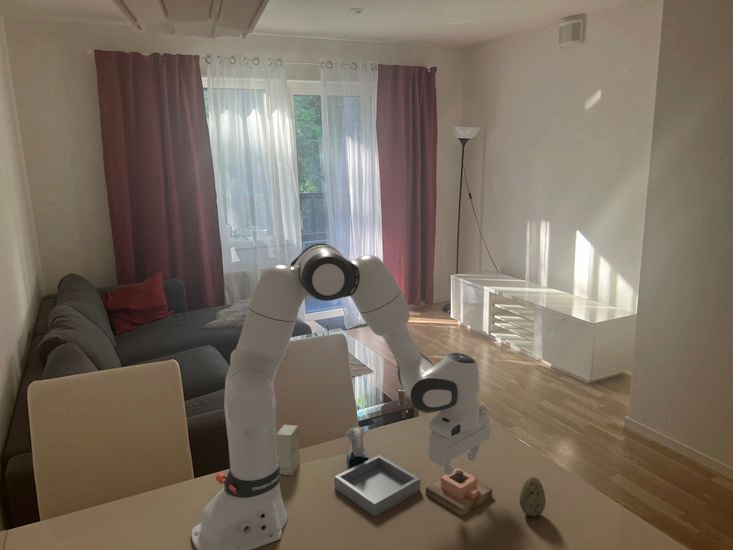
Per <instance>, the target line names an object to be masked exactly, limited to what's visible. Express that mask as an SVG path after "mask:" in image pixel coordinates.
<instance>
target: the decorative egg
mask: <svg viewBox="0 0 733 550" xmlns="http://www.w3.org/2000/svg"><path fill="white" fill-rule="evenodd" d="M543 487H544V486H543V485H542V483H541V481H540V480H539V479H538V478H537V477H536V476H531V477H529V478H527V480H525V482H524V484H523V485H522V488H521V491H520V494H519V506H520V508H521V510H522V512H523V513H524V514H526V516H529V517H532V518H536V517H538V516H541V515H542V513H543V512H544V511H545V507H546V495H545V491H544V488H543Z"/></svg>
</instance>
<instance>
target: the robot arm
mask: <svg viewBox="0 0 733 550" xmlns="http://www.w3.org/2000/svg"><path fill="white" fill-rule="evenodd" d="M308 296H310V297H312V298H314V299H316V300H318V301H323V302H330V301H335V300H338V299H343V298H347V297H350V298H351V300H352V301H353V303H354V305H355V307H356V309H357V311H358V312H359V314H360V316H361V318H362V319H363V321H364V323H365V324H366V325H367V326H368V328H369V329H370V330H371V331H372V333H374V334H375V335H377V336H379V337H381V338H383V339H384V341H385V342H386V344H387V345H388V346H387V347H388V348H389V349H390V351H391V353H392V355H393V357H394V360H395V361H396V365H397V379H398V382H399V384H400V386H401V387H402V388H403V389H404V391H405V393H406V395H407V396H408V399H409V400H410V403H411V404H412V406H413V407H414V408H415V409H416V410H418V411H420V412H422V413H425V414H427V413H436V412H438V413H437V415H436V416H435V417H433V419H432V420H431V421H429V423H428V428H429V430H430V431H431V433H429V438H428V457H429V460H430V461H432V463H434V464H437V465H438V466H443V472H444V475H446V474H447V475H450V474H452V473H453V470H454V467H453V466H452V465H450V464H451V463H452V461H453V460H454V459H456V458H458V457H460V456H461V455H463V454H464V453H466V452H467V454H468V455H467V456H468V457H467V458H468V459H469V461H472V462H474V461H476V460H477V459H478V453H479V450H480V447H481V444H482V443H484V442H485V441H487V440H488V439H489V438H490V435H491V424H490V419H489V415H488V409H487V407H486V406H484V405H480V402H479V398H478V397H479V393H480V373H479V367H478V363H477V362H476V361H475V359H474V358H473V357H472V356H470V355H467V354H464V353H461V352H450V353H447V354H446V356H445V357H444V358H443V359H442V360H440V361H439V362H437V363H436V364H433V363H434V362H432V361H431V360H430V359H429V358H428V357H427V356H425V355H424V354H422V353H421V352H420V351H419V349H418V348H417V346H416V344H415V341H414V340H413V338H412V336H411V334H410V331H409V329H408V326H407V324H408V322H409V320H410V316H411V315H410V310H409V307H408V303H407V301H406V298H405V296H404V293H403V292H402V290H401V288H400V286H399V284H398V282H397V281H396V279H395V277H394V276H393V274H392V272H391V271H390V269H388V267H387V266H386V264H385V263H384V262H383V260H382V259H380V257H378V256H376V255H372V254H369V255H368V254H367V255H362V256H359V257H357V258H356V259H351V260H350V259H347V258H346V257H344V255H343V254H342V253H341V252H340V251H339V250H338V249H336V248H335V247H334V246H331V245H330V244H327V243H316V244H312V245H310V246H309V247H306V249H304V250H303V251H302V252H301V253H300V254H299V255H298V256H297V257H296V258H295V259H294V260H293V261H291V263H290V265H285V264H273V265H269V266H268V267H266V269H264V271H263V272H262V274H261V276H260V277H259V280H258V282H257V283H256V286H255V288H254V289H253V293H252V296H251V298H250V301H249V305H248V308H247V311H246V315H245V319H244V322H243V325H242V329H241V333H240V336H239V339H238V341H237V344H236V347H235V349H234V353H233V355H232V357H231V360H230V364H229V367H228V371H227V373H226V377H225V384H224V400H223V401H224V403H223V404H224V405H223V406H224V417H225V418H224V419H225V424H226V425H225V426H226V434H227V440H228V441H227V442H228V453H229V454H228V455H229V470H228V473H227V476H226V475H225V474H224V473H223V472H218V473H216V475H215V480H216V481H217V482H218V483H219V485H222V484H223V485H224V486H223V487H222V488H221V489H220V490H219V492H218V493H217V494H216V495H215V496H214V497H213V498H212V499H211V500H210V501H209V503H208V504H206V505H205V507H204V508H203V510H202V513H201V517H200V523H198V524H197V525H195V526H194V527H192V529H191V541H192V544H193V546H194V548H195V549H196V550H255V549H257V548H260V547H263V546H265V545H269V544H271V543H274V542H275V541H278V540H280V539H281V538H282V535H283V534H282V533H283V529H284V526H285V525H286V524H287V521H288V518H289V516H288V512H287V509H286V507H285V504H284V502H283V497H282V492H281V486H280V485H281V484H280V483H281V479H282V478H281V474H280V465H279V462H278V452H277V436H276V434H277V412H276V411H277V409H276V408H277V407H276V396H275V395H276V394H275V390H274V389H275V388H274V385H275V384H274V383H275V378H276V375H277V372H278V369H279V367H280V364H281V362H282V360H283V358H284V356H285V355H286V354H287V351H288V349H289V348H288V347H289V345H290V343H291V338H292V335H293V331H294V329H295V325H296V321H297V319H298V315H299V311H300V309H301V308H300V307H301V306H302V303H303V301H305V299H306V298H307V297H308ZM468 451H469V452H468Z"/></svg>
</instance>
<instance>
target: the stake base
mask: <svg viewBox="0 0 733 550" xmlns="http://www.w3.org/2000/svg"><path fill="white" fill-rule="evenodd" d="M463 471H464V470H463ZM463 471H460V470H457V471H455V481H456V482H458V483H460V484H461V483H462V482H463ZM476 490H478V496H477V497H475V498H474V499H472V498H470V497H468V496H465V497H463V498H462V499H459V498H458V497H456V496H454V495H452V494H451V493H449V492H447V491H446V490H444V489H442V488H441V478H439V479H438V480H436V481H435V482H433V483H430V484H429V485H427V486H426V487H425V495H427V496H428V497H429V498H432V499H433V500H435V501H436V502H438V503H439V504H441V505H442V506H444V507H446V508H448V509H450V511H453V512H454V513H456V514H458V515H459V516H461V517H462V516H464V515H466V514H468V513H469V512H471V511H472V510H474V509H475V508H476V507H478V506H479V505H481V504H482V503H484V502H485V501H487V500H488V499H490V498H491V497H493V488H492V487H489V486H487V485H485V484H484V483H481V482H479V480H477V489H476Z"/></svg>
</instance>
